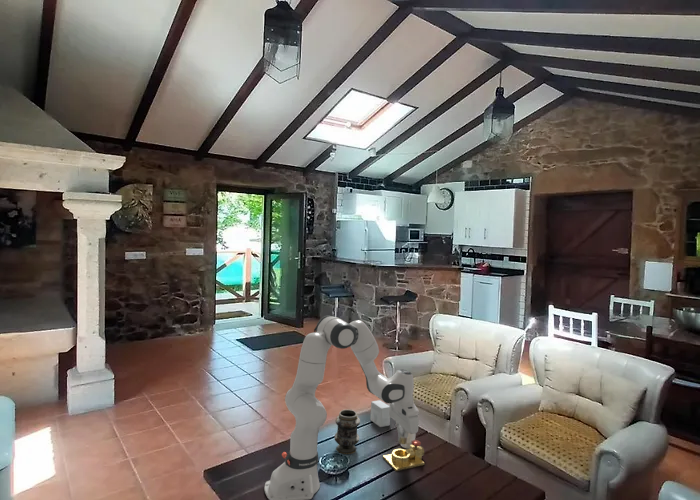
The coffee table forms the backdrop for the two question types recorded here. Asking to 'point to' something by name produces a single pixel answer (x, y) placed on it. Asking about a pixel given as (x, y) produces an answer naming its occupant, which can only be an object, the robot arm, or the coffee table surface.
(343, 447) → the apothecary jar
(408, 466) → the brass valve fitting
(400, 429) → the silver metal cylinder
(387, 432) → the coffee table surface
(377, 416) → the skincare box
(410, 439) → the white cup
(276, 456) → the coffee table surface
